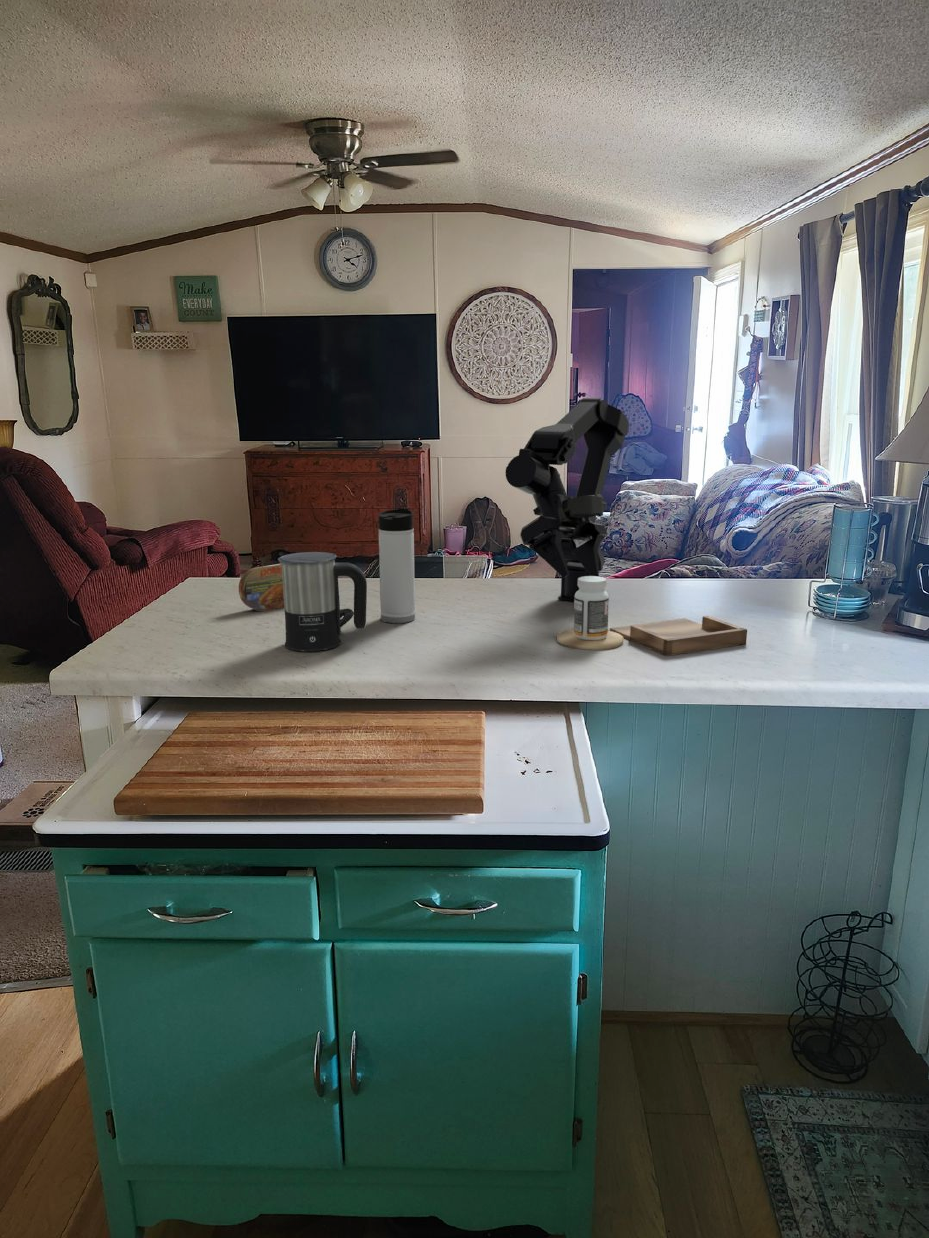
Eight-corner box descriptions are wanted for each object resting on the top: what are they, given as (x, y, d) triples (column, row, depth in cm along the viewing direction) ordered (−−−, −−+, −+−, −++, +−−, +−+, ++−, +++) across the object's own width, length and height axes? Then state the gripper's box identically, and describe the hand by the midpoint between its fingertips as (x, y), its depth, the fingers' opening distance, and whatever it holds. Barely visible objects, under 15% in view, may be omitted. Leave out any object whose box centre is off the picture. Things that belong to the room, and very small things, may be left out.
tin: (245, 614, 164) (242, 570, 162) (237, 611, 166) (234, 567, 164) (315, 602, 173) (313, 560, 171) (308, 599, 176) (306, 558, 173)
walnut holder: (609, 631, 152) (610, 617, 151) (684, 621, 158) (685, 608, 158) (666, 655, 138) (667, 640, 137) (746, 644, 144) (747, 629, 144)
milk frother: (292, 656, 138) (287, 563, 134) (266, 632, 152) (261, 547, 148) (376, 644, 144) (374, 555, 141) (344, 622, 158) (341, 541, 154)
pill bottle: (610, 633, 148) (612, 576, 146) (604, 642, 143) (606, 583, 140) (576, 631, 150) (578, 574, 147) (570, 639, 145) (571, 581, 142)
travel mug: (421, 616, 162) (420, 508, 157) (404, 625, 156) (402, 513, 151) (392, 613, 164) (390, 506, 159) (374, 621, 159) (371, 511, 154)
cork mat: (547, 644, 144) (547, 641, 144) (570, 628, 154) (570, 625, 153) (611, 653, 139) (612, 649, 139) (631, 636, 149) (631, 633, 149)
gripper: (553, 468, 144) (586, 553, 140) (614, 481, 158) (646, 558, 154) (505, 502, 151) (535, 583, 146) (568, 511, 165) (597, 585, 160)
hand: (581, 577), depth 152 cm, fingers open, 9 cm apart
